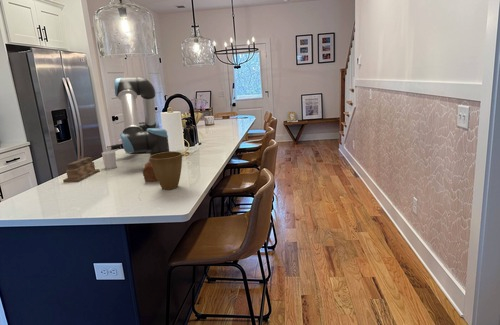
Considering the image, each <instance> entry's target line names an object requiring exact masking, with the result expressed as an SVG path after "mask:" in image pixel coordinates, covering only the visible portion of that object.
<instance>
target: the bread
mask: <svg viewBox="0 0 500 325" xmlns="http://www.w3.org/2000/svg"><path fill="white" fill-rule="evenodd" d="M142 174H143V175H142V176H143V177H144V178H143V180H144V181H145V182H146V183H157V182H158V180H157V178H156V176H155V173H154V171H153V168H152V165H151V162H150V161H149V160H148V162H147V163H145V164H144V166H143V168H142ZM158 183H159V182H158Z"/></svg>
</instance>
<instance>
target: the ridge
mask: <svg viewBox="0 0 500 325" xmlns="http://www.w3.org/2000/svg"><path fill="white" fill-rule="evenodd" d="M66 168H67V169H66V170H65V171H66V172H65V173H66V176H67V177H66V178H64V179H62V182H63V183H79V182H80V183H81V182H82V181H84V180H85V179H88V178H90V177H92V176H94V175H95V174H98V173H100V168H96V166H95V162H94V161H93V158H92V156H91V157H89V156H88V157H86V156H85V157H82V158H80V159H77V160H76V161H72V162H69V163H67V164H66Z"/></svg>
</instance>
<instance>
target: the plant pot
mask: <svg viewBox="0 0 500 325" xmlns="http://www.w3.org/2000/svg"><path fill="white" fill-rule="evenodd" d="M148 158H149V159H150V162H151V165H152V168H153V171H154V173H155V176H156V178H157V180H158V184H159V186H160V187H161V189H162V190H165V191H170V190H175V189H178V187H179V183H180V179H181V173H182V165H183V153H182V152H180V151H169V152H163V153H158V154H154V155H151V156H150V155H149V157H148Z"/></svg>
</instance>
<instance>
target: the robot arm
mask: <svg viewBox="0 0 500 325" xmlns="http://www.w3.org/2000/svg"><path fill="white" fill-rule="evenodd" d="M114 95H115V97H116V98H117V99H118V100H120V102H121V109H122V110H121V111H122V117H123V124H124V129H123V130H122V133H121V134H120V139H121V143H117V144H112V145H110V146H108V145H107V146H106V148H105V149H104V152H107V151H115V150H124V152H125V153H127V154H129V153H138V152H139V153H140V152H147V151H149V157H150V156H151V155H154V154H158V153H163V152H170V145H169V144H170V143H169V136H168V131H167V130H166V129H165V128H160V126H159V125H160V124H159V121H157V120H156V108H155V106H156V105H155V97H156V90H155V86H154V85H153V84H152V82H151V81H150V80H148V79H147V78H145V77H142V76H136V77H135V76H133V77H118V78H116V79H115V80H114ZM138 96H140V97H141V98H142V104H143V115H144V121H143V122H142V121H141V122H140V121H139V120H140V119H139V116H138V108H137V101H136V100H137V98H138ZM149 161H150V158H149V160H148V162H149Z"/></svg>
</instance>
